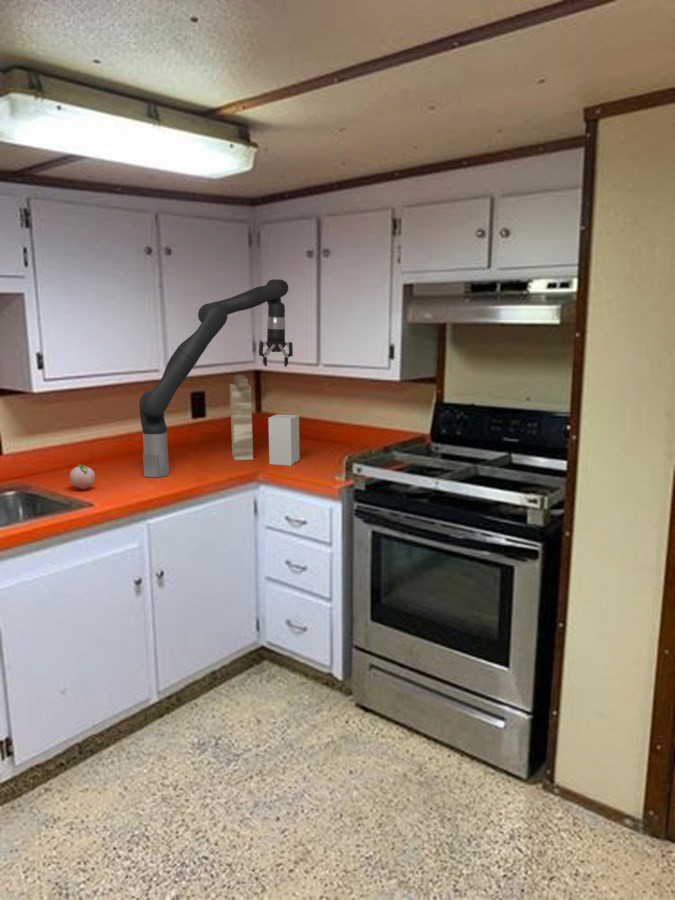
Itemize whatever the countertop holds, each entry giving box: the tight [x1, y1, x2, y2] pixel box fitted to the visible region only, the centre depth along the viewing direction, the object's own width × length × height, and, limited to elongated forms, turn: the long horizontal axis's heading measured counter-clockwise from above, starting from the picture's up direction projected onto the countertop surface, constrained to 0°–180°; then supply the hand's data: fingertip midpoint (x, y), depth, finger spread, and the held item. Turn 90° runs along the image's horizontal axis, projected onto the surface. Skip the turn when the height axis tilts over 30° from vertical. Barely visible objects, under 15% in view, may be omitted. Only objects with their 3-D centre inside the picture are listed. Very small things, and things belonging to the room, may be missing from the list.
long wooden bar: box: [233, 374, 249, 389], centre depth 296 cm, size 21×4×4 cm, turn 13°
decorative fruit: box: [69, 462, 96, 491], centre depth 251 cm, size 9×8×10 cm
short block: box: [267, 413, 300, 466], centre depth 294 cm, size 10×10×20 cm
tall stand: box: [229, 383, 254, 461], centre depth 303 cm, size 12×8×32 cm, turn 13°
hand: (275, 366), depth 294 cm, fingers open, 8 cm apart
